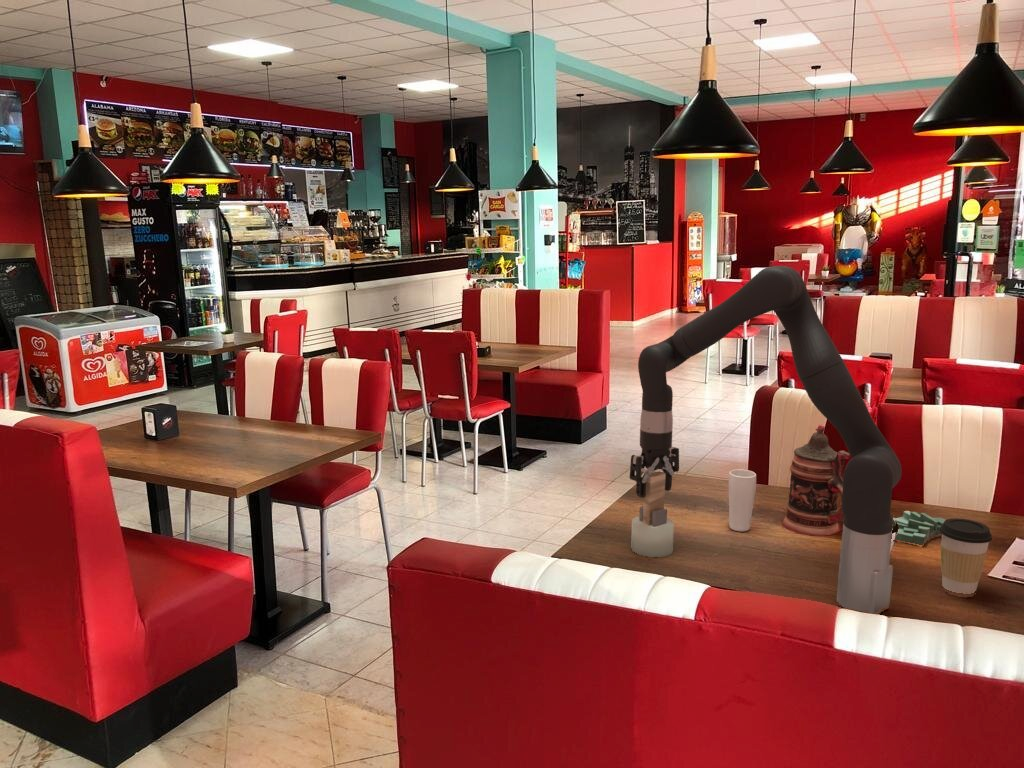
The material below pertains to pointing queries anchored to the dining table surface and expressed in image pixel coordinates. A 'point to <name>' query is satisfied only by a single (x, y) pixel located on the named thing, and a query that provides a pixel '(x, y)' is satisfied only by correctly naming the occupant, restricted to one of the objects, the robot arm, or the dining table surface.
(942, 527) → the coffee cup
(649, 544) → the cream plug cylinder
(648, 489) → the brown wooden block
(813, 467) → the beer stein
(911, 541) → the money
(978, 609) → the dining table surface
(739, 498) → the drinking glass
